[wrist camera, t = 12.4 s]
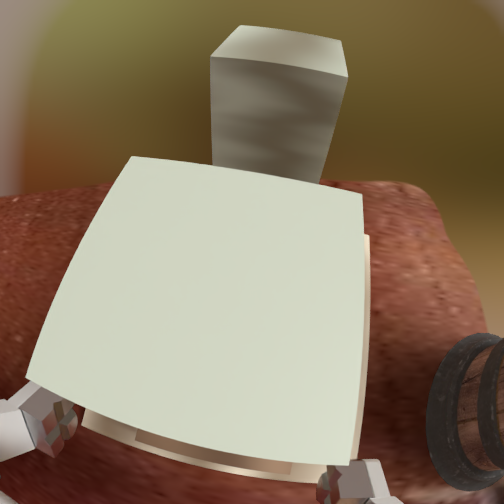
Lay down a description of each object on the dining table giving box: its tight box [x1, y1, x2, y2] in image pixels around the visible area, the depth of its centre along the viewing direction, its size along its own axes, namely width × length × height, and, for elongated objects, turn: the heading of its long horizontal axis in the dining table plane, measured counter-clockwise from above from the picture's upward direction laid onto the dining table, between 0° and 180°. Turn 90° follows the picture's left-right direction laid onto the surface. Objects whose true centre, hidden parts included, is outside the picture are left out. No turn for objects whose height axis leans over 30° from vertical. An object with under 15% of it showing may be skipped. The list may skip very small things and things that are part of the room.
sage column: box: [25, 156, 365, 466], centre depth 11 cm, size 5×5×14 cm
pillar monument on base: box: [81, 25, 370, 483], centre depth 16 cm, size 20×22×20 cm
